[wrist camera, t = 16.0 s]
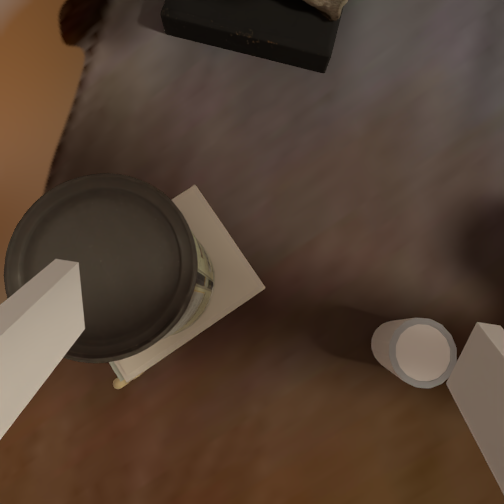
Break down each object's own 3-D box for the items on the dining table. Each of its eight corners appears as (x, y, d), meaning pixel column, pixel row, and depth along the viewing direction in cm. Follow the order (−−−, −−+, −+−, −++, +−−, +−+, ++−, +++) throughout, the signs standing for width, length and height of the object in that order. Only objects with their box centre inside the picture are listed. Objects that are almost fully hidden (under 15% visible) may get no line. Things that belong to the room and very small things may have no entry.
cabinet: (261, 292, 44) (266, 288, 34) (141, 374, 42) (110, 395, 32) (205, 209, 45) (194, 183, 35) (87, 286, 43) (40, 280, 33)
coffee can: (78, 291, 33) (-40, 281, 19) (152, 204, 35) (91, 136, 21) (166, 362, 33) (110, 406, 19) (238, 271, 34) (235, 248, 20)
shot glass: (434, 356, 43) (471, 366, 36) (385, 386, 43) (413, 402, 36) (403, 304, 44) (433, 304, 37) (354, 333, 43) (376, 339, 36)
